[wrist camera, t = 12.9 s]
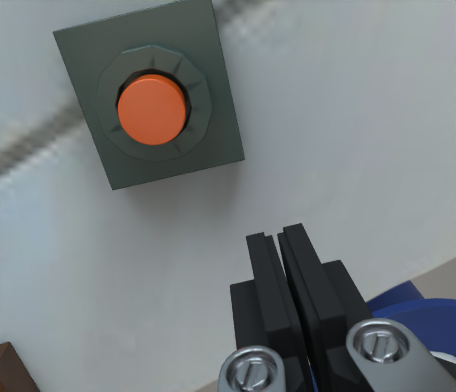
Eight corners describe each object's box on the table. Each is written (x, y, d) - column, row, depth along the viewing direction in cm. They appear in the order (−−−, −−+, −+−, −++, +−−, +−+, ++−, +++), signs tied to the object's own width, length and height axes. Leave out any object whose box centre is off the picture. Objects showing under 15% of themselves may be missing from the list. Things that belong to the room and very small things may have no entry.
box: (241, 149, 29) (248, 170, 25) (117, 178, 29) (107, 202, 25) (208, -6, 24) (211, -8, 21) (63, 29, 25) (41, 33, 21)
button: (193, 128, 24) (192, 137, 22) (134, 142, 24) (129, 152, 23) (176, 67, 23) (175, 71, 21) (114, 82, 23) (107, 87, 21)
